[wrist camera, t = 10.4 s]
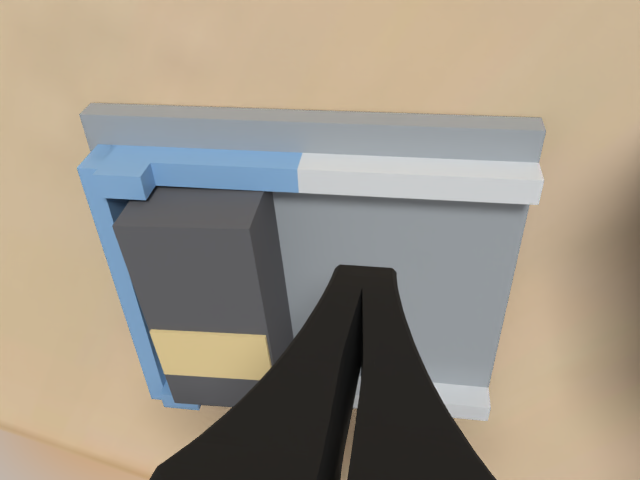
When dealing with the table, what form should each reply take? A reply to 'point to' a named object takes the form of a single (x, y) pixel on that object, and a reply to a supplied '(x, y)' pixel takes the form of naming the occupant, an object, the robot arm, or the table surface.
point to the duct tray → (344, 212)
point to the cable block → (208, 287)
